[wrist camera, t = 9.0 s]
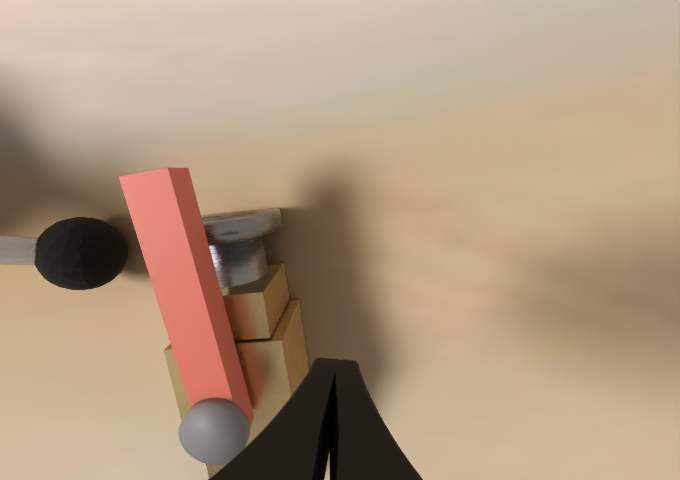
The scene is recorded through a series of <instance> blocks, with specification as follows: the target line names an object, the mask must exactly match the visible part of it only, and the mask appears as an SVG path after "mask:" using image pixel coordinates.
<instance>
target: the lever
mask: <svg viewBox="0 0 680 480" xmlns="http://www.w3.org/2000/svg"><path fill="white" fill-rule="evenodd" d="M119 180H120V183H121V186H122V190H123V193H124V196H125V199H126V202H127V206H128V209H129V212H130V215H131V218H132V222H133V225H134V228H135V231H136V234H137V237H138V241H139V244H140V247H141V250H142V253H143V257H144V260H145V263H146V266H147V269H148V273H149V276H150V279H151V282H152V285H153V288H154V292H155V295H156V298H157V301H158V304H159V308H160V311H161V314H162V317H163V320H164V324H165V327H166V330H167V333H168V336H169V340H170V343H171V346H172V349H173V352H174V355H175V359H176V362H177V365H178V368H179V371H180V375H181V378H182V381H183V384H184V387H185V391H186V394H187V397H188V400H189V403H190V406H191V408H190V410H189V411H188V412H187V414H186V415H185V417H184V418H183V420H182V422H181V424H180V427H179V439H180V442H181V444H182V446H183V448H184V449H185V450H186V452H187V453H188V454H189V455H191V456H192V457H193V458H195V459H196V460H198V461H200V462H203V463H206V464H211V465H223V464H227V463H229V462H230V461H231V460H232V459H233V458H234V457H235V456H236V455H237V454H239V453H240V452H241V451H242V450H243V449H244V448H245V446H246V444H247V441H248V439H249V436H250V431H251V427H250V426H251V424H252V421H253V419H254V414H253V410H252V406H251V402H250V399H249V395H248V391H247V387H246V384H245V380H244V376H243V372H242V369H241V365H240V361H239V357H238V354H237V350H236V346H235V342H234V339H233V335H232V331H231V327H230V323H229V320H228V316H227V312H226V308H225V305H224V301H223V297H222V293H221V290H220V286H219V282H218V278H217V275H216V271H215V267H214V263H213V260H212V256H211V252H210V248H209V245H208V241H207V237H206V233H205V230H204V226H203V222H202V218H201V215H200V211H199V207H198V203H197V200H196V196H195V192H194V188H193V184H192V181H191V177H190V173H189V169H188V168H164V169H158V170H153V171H147V172H142V173H136V174H131V175H126V176H120V177H119Z"/></svg>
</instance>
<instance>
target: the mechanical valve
mask: <svg viewBox="0 0 680 480" xmlns="http://www.w3.org/2000/svg"><path fill="white" fill-rule="evenodd" d="M127 257H128V249H127V245H126V243H125V241H124V238H123V237H122V235H121V233H120V232H119V231H118V230H117V229H116V228H114V227H113V226H111V225H109V224H108V223H106V222H104V221H101V220H98V219H95V218H85V217H76V218H71V219H66V220H62V221H59V222H57V223H55V224H53V225H52V226H50V227H49V228H47V229H46V230H45V231H44V232H43V233H42V234H41V235H40V237H39V238H28V237H11V236H0V264H8V265H35V266H36V268H37V269H38V271H39V272H40V273H41V275H42V276H43V277H44V278H45V279H46V280H47V281H49V282H50V283H52V284H54V285H56V286H58V287H62V288H67V289H71V290H87V289H93V288H97V287H100V286H102V285H104V284H106V283H108V282H110V281H112V280H113V279H114V278H115V277H116V276H117V275H118V274H119V273H120V272H121V271H122V269H123V267H124V265H125V263H126V260H127Z"/></svg>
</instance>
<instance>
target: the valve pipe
mask: <svg viewBox="0 0 680 480" xmlns="http://www.w3.org/2000/svg"><path fill="white" fill-rule="evenodd" d="M201 218H202V222H203V226H204V230H205V233H206V237H207V241H208V245H209V248H210V252H211V256H212V260H213V263H214V267H215V271H216V275H217V278H218V282H219V286H220V290H221V293H222V297H223V301H224V305H225V308H226V312H227V316H228V320H229V323H230V327H231V331H232V335H233V339H234V342H235V346H236V350H237V354H238V357H239V361H240V365H241V369H242V372H243V376H244V380H245V384H246V387H247V391H248V395H249V399H250V402H251V406H252V410H253V414H254V419H253V421H252V424H251V426H250V427H251V431H250V436H249V439H248V441H247V444H246V446H247V445H248V444H249V443H250V442H251V441H252V440H253V439H254V438H255V437H256V436H257V435H258V434H259V433H260V432H261V431H262V430H263V429H264V428H265V427H266V426H267V425H268V424H269V423H270V421H271V420H272V419H273V418H274V417H275V416H276V414H277V413H278V412H279V411H280V410H281V408H282V407H283V406H284V405H285V404H286V402H287V401H288V400H289V399H290V397H291V396H292V394H293V393H294V392H295V390H296V389H297V388H298V386H299V385H300V384H301V382H302V381H303V379H304V377H305V376H306V374H307V373H308V371H309V364H308V357H307V350H306V343H305V336H304V329H303V323H302V316H301V309H300V302H299V300H289V299H290V297H289V291H288V284H287V278H286V271H285V265H284V263H281V264H271V265H267V260H266V254H265V248H264V242H263V236H264V235H267V234H270V233H273V232H275V231H278V230H280V229H281V228H282V227H283V226H282V219H281V212H280V209H279V208H269V209H259V210H250V211H241V212H231V213H222V214H212V215H203V216H201ZM164 353H165V357H166V361H167V365H168V368H169V372H170V376H171V380H172V384H173V388H174V392H175V396H176V400H177V404H178V408H179V412H180V416H181V420H183V418H184V417H185V415H186V414H187V412H188V411H189V410H190V408H191V406H190V403H189V400H188V397H187V394H186V391H185V387H184V384H183V381H182V378H181V375H180V371H179V368H178V365H177V362H176V359H175V355H174V352H173V349H172V346H171V344H170V345H169V346H167V347H166V348H165V349H164ZM246 446H245V447H246ZM227 464H228V463H227ZM225 465H226V464H223V465H211V464H206V466H207V470H208V474H209V478H211V477H212V476H213V475H215V474H216V473H217V472H218V471H219V470H221V469H222V468H223V467H224V466H225Z"/></svg>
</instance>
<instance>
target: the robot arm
mask: <svg viewBox="0 0 680 480" xmlns="http://www.w3.org/2000/svg"><path fill="white" fill-rule="evenodd" d="M329 449H330V480H423V479H422V478H421V477H420V475H419V474H418V473H417V471H416V470H415V469H414V467H413V466H412V465H411V463H410V462H409V460H408V459H407V458H406V456H405V455H404V453H403V452H402V450H401V449H400V447H399V446H398V444H397V443H396V441H395V440H394V438H393V437H392V435H391V433H390V432H389V430H388V428H387V427H386V425H385V423H384V421H383V420H382V418H381V416H380V414H379V412H378V410H377V408H376V406H375V404H374V402H373V401H372V399H371V397H370V394H369V392H368V390H367V388H366V385H365V383H364V381H363V378H362V375H361V372H360V369H359V365H358V363H357V362H356V361H350V360H338V359H326V358H317V359H316V360H314V362H313V364H312V366H311V368H310V369H309V371H308V373H307V374H306V376H305V377H304V379H303V381H302V382H301V384H300V385H299V386H298V388H297V389H296V390H295V392H294V393H293V394H292V396H291V397H290V399H289V400H288V401H287V402H286V404H285V405H284V406H283V407H282V408H281V410H280V411H279V412H278V413H277V414H276V416H275V417H274V418H273V419H272V420H271V421H270V423H269V424H268V425H267V426H266V427H265V428H264V429H263V430H262V431H261V432H260V433H259V434H258V435H257V436H256V437H255V438H254V439H253V440H252V441H251V442H250V443H249V444H248V445H247V446H246V447H245V448H244V449H243V450H242V451H241V452H240V453H239V454H237V455H236V456H235V457H234V458H233V459H232V460H231V461H230V462H229V463H228V464H226V465H225V466H224V467H223V468H222V469H221V470H219V471H218V472H217V473H216V474H215V475H213V476H212V477H211V478H210V479H208V480H324V478H325V472H326V466H327V461H328V455H329Z"/></svg>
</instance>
